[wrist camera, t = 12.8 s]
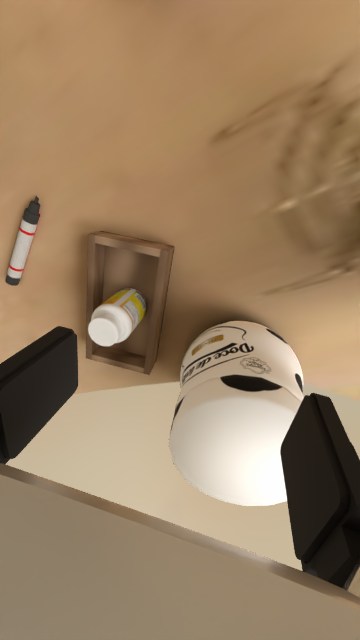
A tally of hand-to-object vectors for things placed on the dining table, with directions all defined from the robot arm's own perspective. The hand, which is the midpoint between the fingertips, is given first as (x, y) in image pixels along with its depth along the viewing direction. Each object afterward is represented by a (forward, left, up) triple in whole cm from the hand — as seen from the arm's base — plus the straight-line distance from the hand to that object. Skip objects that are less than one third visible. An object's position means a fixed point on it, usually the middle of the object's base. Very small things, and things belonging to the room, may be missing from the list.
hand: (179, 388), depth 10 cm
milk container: (-7, +16, -29) cm, 34 cm away
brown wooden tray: (+12, +10, -29) cm, 33 cm away
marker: (+30, +4, -29) cm, 42 cm away
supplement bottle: (+11, +10, -28) cm, 32 cm away
